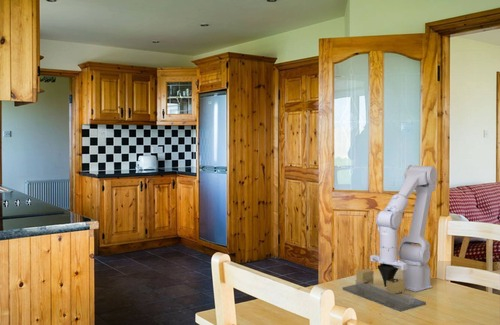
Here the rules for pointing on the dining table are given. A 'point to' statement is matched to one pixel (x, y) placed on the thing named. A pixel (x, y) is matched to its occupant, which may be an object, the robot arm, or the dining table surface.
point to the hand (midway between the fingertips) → (387, 286)
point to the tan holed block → (395, 285)
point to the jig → (381, 293)
